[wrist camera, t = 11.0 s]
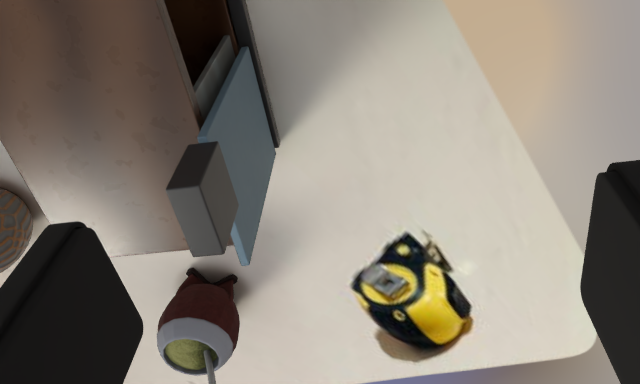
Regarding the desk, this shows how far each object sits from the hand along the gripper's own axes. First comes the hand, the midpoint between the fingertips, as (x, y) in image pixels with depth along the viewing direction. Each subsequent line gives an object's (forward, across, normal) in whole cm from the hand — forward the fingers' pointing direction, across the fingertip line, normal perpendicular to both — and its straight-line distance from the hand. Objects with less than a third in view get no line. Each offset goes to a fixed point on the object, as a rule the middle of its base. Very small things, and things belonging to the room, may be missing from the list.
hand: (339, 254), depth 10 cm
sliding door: (+27, +8, +9) cm, 30 cm away
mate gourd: (+28, +17, +28) cm, 43 cm away
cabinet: (+28, +14, +4) cm, 32 cm away
